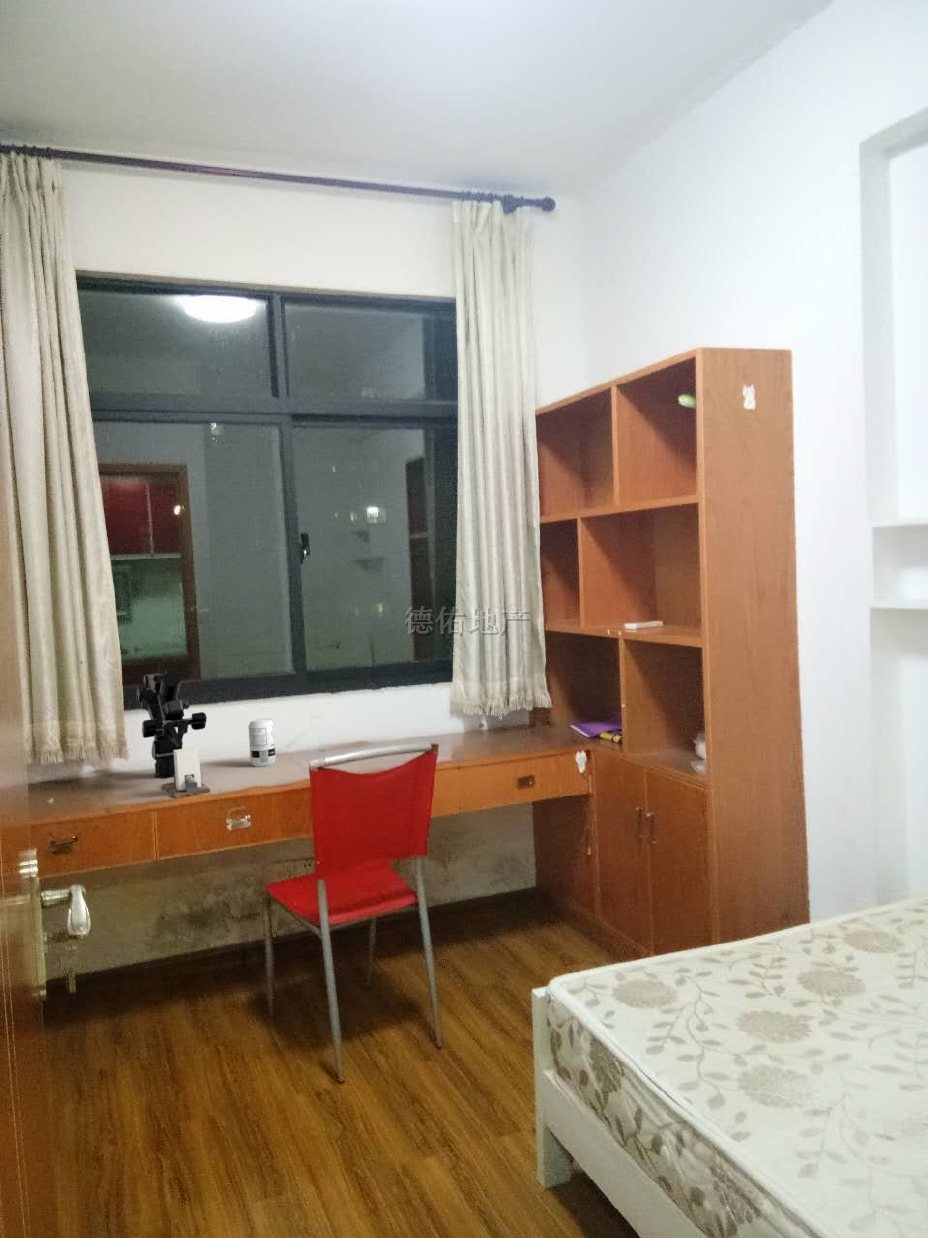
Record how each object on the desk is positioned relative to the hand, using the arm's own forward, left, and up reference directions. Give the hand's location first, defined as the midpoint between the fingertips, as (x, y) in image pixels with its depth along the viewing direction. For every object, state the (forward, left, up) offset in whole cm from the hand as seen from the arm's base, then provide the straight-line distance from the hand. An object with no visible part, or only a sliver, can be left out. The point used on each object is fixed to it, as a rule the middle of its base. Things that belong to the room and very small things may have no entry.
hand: (180, 746), depth 266 cm
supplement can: (-33, -4, -13) cm, 36 cm away
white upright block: (+2, +7, -11) cm, 13 cm away
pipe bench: (+1, +3, -13) cm, 13 cm away
